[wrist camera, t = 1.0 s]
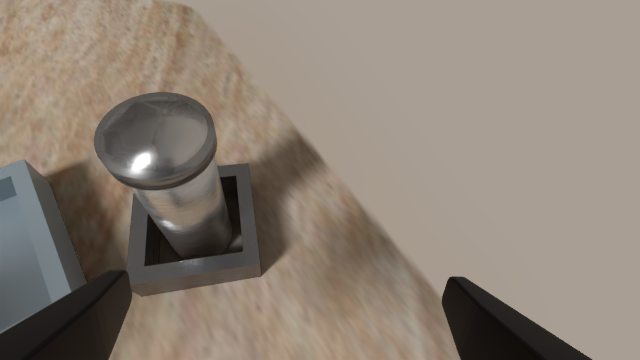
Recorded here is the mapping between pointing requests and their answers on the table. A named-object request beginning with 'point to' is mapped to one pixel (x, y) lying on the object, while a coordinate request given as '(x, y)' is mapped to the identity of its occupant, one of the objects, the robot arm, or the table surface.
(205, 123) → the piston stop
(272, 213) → the table surface
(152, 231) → the grey square tray
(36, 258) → the parts tray
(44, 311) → the robot arm
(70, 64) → the table surface
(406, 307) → the table surface
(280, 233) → the table surface
